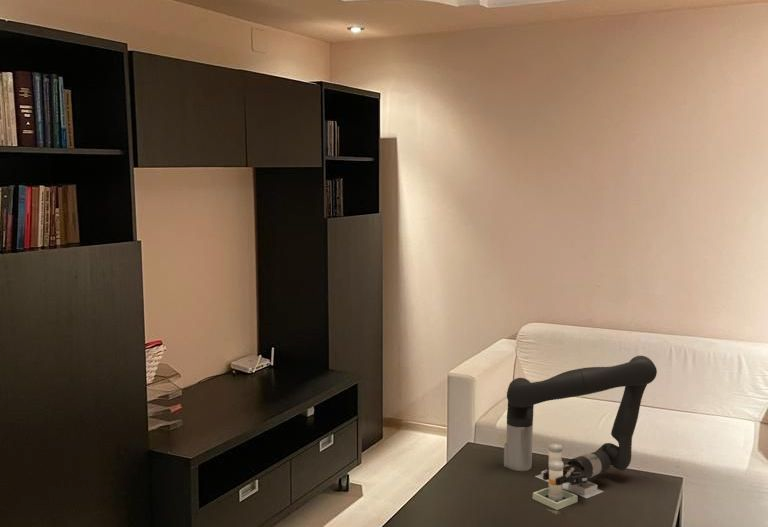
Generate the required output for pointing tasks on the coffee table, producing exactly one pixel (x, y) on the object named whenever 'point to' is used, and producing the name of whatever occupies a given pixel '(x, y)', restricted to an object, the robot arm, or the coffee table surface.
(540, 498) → the tray
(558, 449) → the cylinder
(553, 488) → the cylinder
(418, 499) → the coffee table surface
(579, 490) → the fuse board
